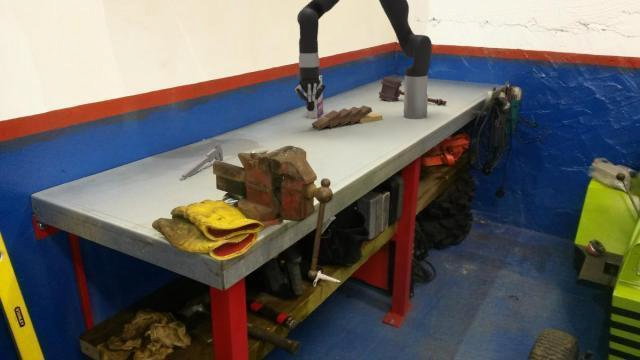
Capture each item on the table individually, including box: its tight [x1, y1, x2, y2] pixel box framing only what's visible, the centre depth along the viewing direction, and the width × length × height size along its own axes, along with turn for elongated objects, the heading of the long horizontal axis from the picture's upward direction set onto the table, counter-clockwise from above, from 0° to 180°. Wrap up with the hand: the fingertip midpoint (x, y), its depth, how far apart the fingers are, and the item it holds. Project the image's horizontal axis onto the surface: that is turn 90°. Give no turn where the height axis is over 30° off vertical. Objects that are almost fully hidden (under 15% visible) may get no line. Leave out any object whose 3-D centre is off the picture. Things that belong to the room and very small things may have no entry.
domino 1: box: [311, 110, 342, 131], centre depth 200 cm, size 2×5×11 cm
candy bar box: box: [306, 75, 324, 119], centre depth 217 cm, size 11×5×16 cm, turn 168°
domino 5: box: [356, 112, 383, 124], centre depth 210 cm, size 2×5×11 cm
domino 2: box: [327, 108, 353, 129], centre depth 202 cm, size 2×5×11 cm
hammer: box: [378, 75, 448, 106], centre depth 240 cm, size 7×33×10 cm, turn 58°
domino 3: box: [336, 106, 363, 127], centre depth 205 cm, size 2×5×11 cm
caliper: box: [179, 142, 224, 181], centre depth 154 cm, size 20×1×6 cm, turn 155°
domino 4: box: [347, 104, 373, 125], centre depth 207 cm, size 2×5×11 cm
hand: (310, 110), depth 195 cm, fingers closed
